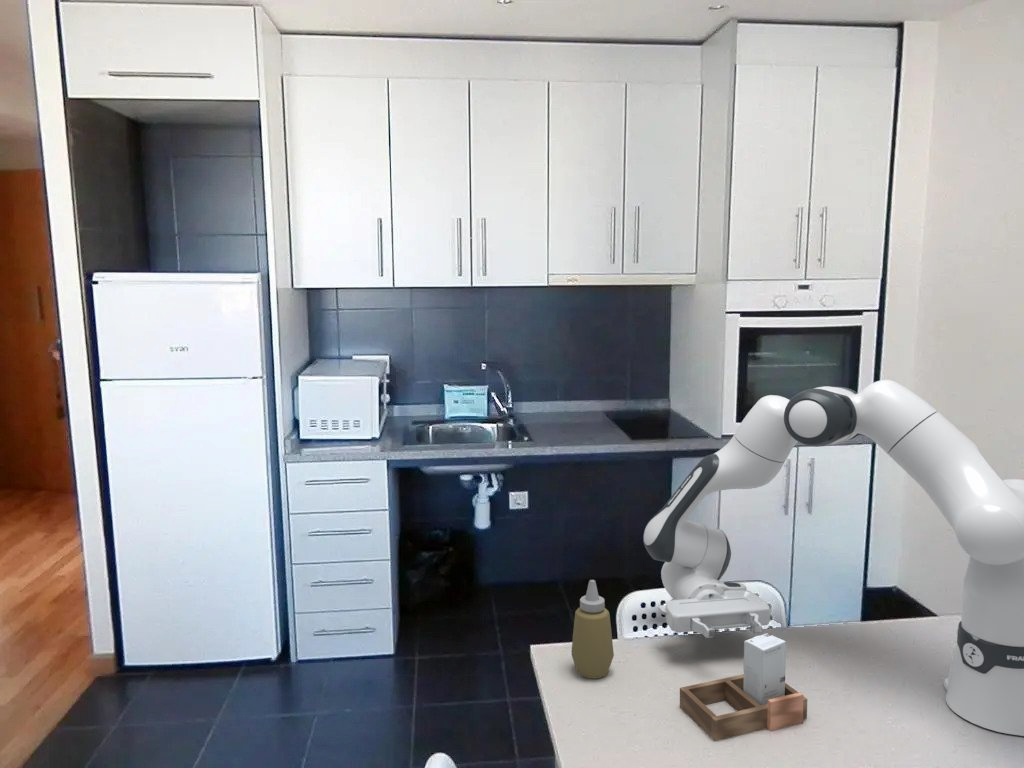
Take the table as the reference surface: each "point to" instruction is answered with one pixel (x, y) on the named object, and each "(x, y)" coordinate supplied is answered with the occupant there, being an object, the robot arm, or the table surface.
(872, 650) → the table surface
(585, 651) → the squeeze bottle
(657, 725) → the table surface
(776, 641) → the skincare box
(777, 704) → the wooden compartment holder
